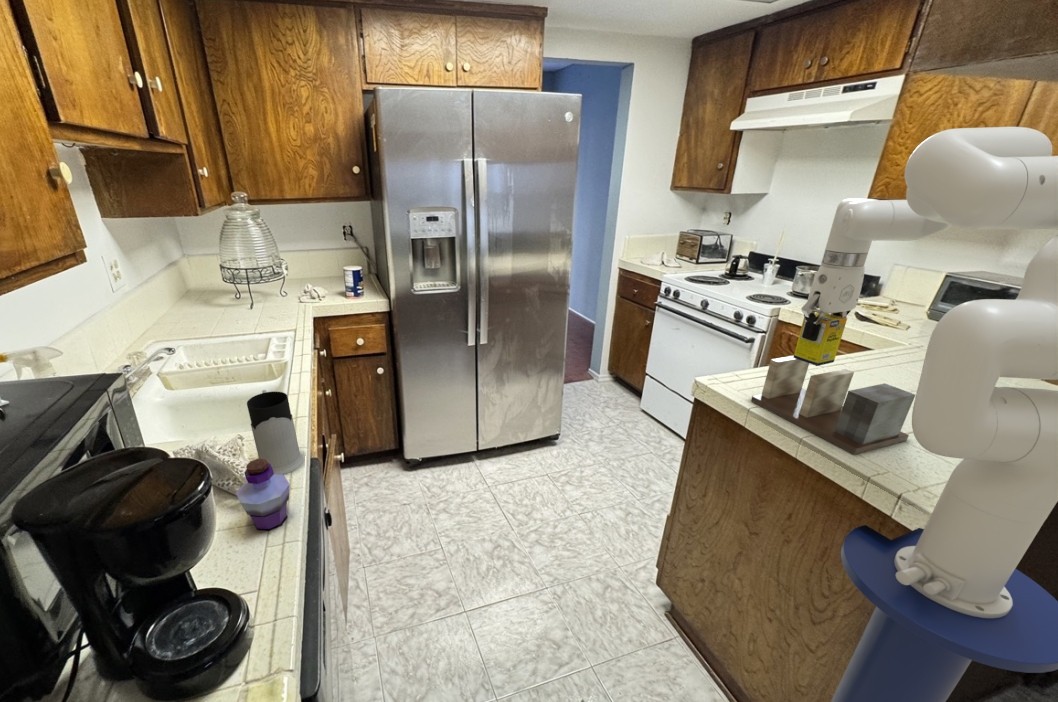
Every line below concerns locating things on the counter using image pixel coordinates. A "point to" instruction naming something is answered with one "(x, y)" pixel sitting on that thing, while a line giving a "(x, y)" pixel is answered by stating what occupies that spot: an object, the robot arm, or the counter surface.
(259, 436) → the glass holder
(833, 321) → the supplement box
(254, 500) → the potion bottle
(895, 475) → the counter surface
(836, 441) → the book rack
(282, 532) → the counter surface
